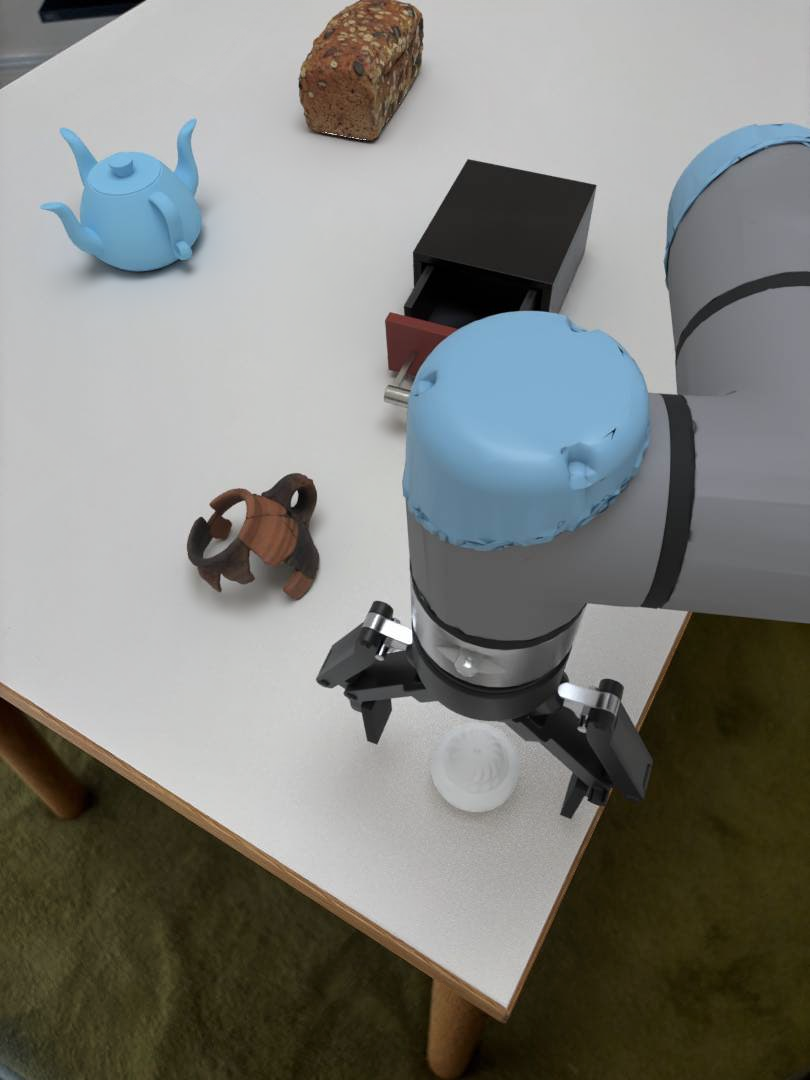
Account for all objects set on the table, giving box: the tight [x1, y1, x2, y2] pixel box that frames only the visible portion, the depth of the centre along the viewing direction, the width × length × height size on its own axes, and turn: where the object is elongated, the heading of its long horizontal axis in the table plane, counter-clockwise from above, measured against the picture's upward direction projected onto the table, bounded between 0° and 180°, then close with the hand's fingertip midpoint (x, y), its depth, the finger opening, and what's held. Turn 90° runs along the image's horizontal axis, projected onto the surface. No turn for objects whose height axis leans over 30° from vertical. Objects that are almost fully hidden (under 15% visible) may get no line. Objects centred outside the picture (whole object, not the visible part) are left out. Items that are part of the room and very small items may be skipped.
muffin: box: [429, 721, 522, 813], centre depth 56 cm, size 6×6×7 cm
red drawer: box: [383, 263, 542, 409], centre depth 78 cm, size 21×13×6 cm, turn 158°
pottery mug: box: [186, 472, 320, 601], centre depth 68 cm, size 12×10×8 cm
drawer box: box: [412, 158, 597, 314], centre depth 84 cm, size 16×14×8 cm
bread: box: [297, 0, 425, 141], centre depth 103 cm, size 19×11×10 cm, turn 160°
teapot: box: [39, 118, 203, 272], centre depth 89 cm, size 15×15×10 cm
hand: (472, 760), depth 55 cm, fingers open, 13 cm apart
